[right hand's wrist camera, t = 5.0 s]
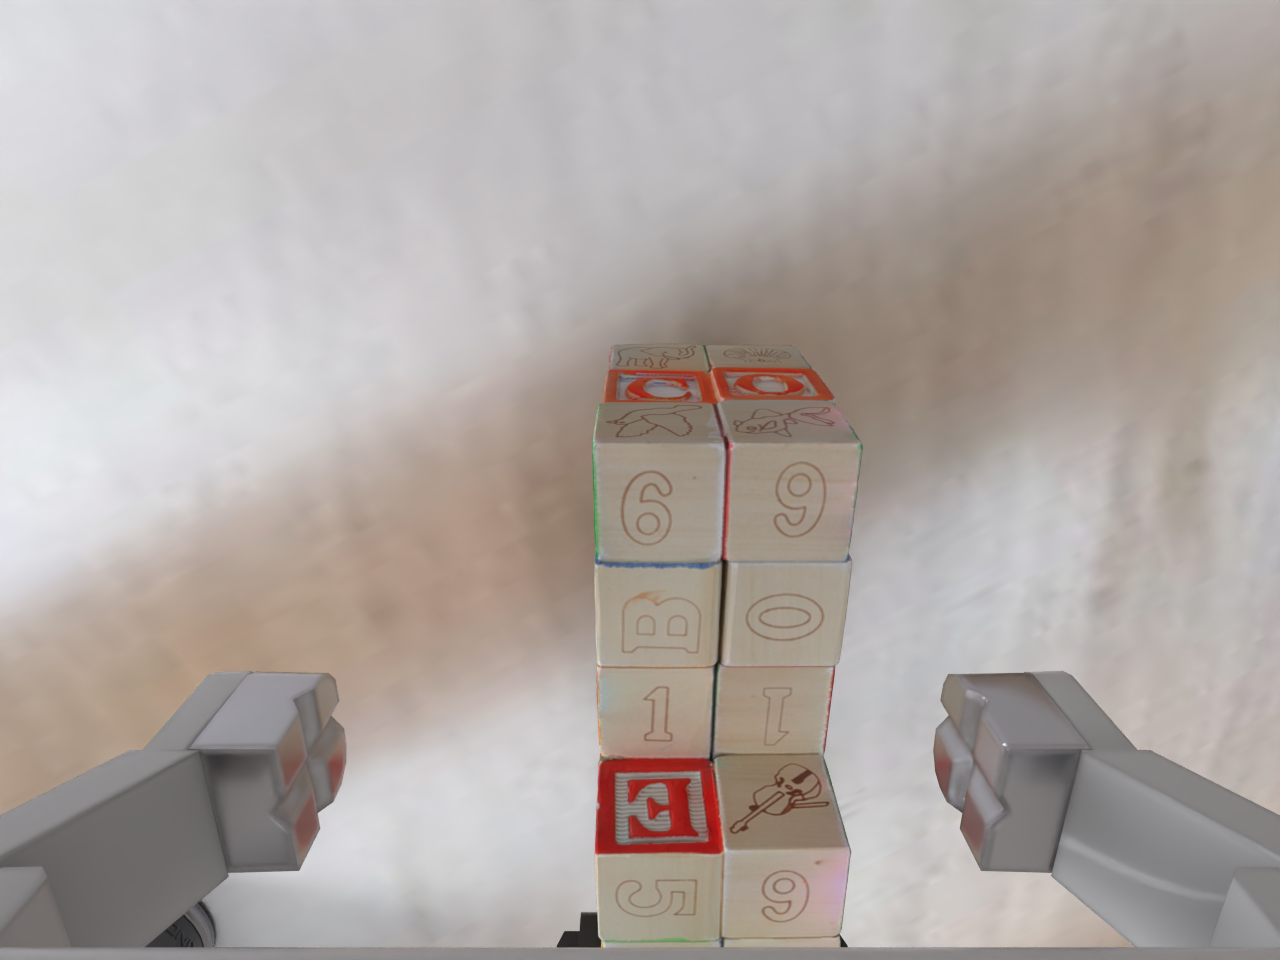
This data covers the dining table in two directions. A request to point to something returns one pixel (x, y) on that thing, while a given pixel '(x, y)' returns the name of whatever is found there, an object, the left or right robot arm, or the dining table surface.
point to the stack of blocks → (719, 646)
